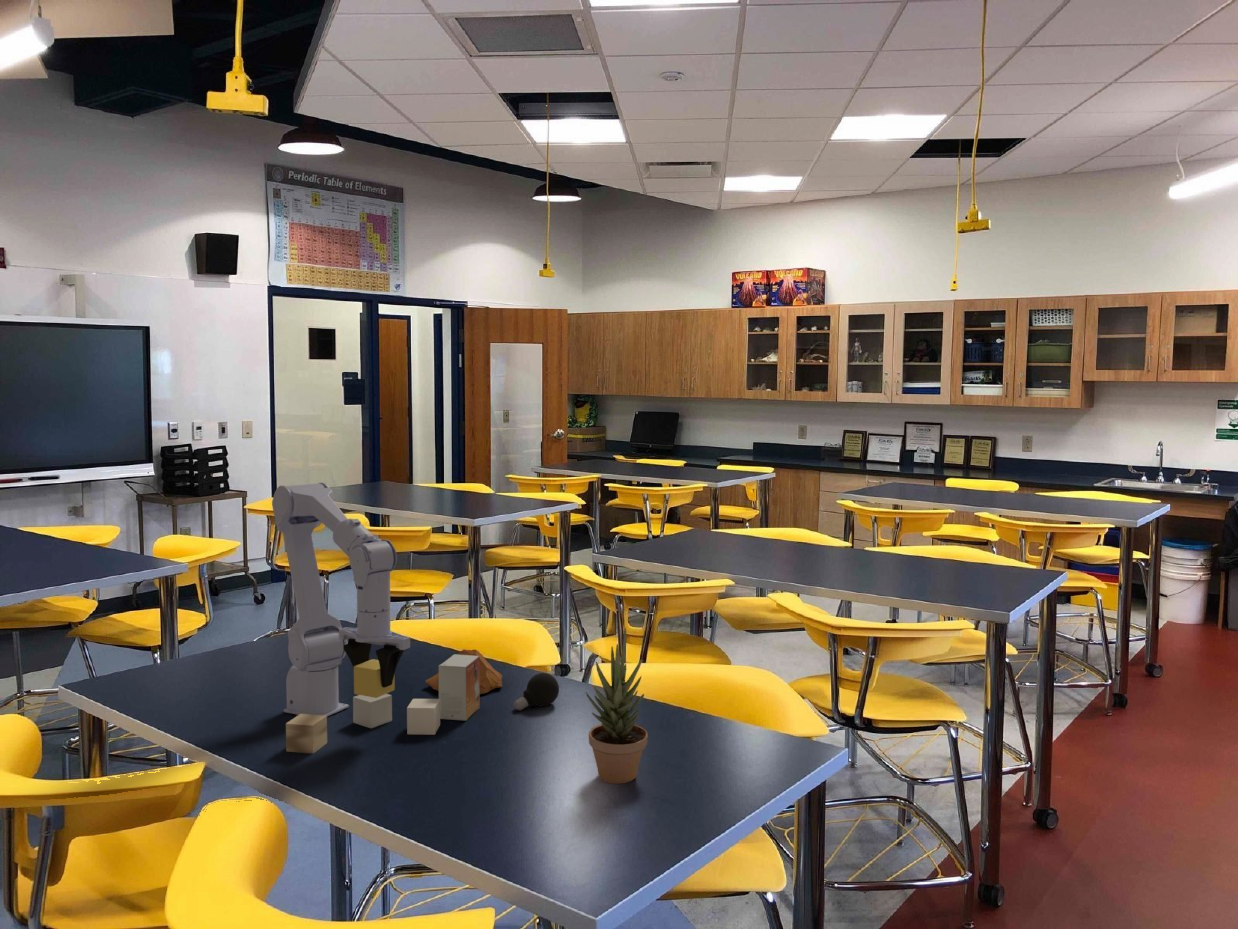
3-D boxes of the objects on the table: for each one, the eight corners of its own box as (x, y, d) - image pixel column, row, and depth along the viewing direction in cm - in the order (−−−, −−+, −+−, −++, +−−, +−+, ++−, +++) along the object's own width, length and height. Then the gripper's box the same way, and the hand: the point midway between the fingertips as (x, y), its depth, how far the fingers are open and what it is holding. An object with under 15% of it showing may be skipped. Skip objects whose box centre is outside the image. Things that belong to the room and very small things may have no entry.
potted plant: (627, 793, 148) (629, 638, 146) (577, 780, 153) (578, 629, 151) (659, 772, 157) (661, 624, 154) (610, 759, 162) (611, 616, 160)
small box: (466, 722, 179) (465, 667, 178) (438, 719, 180) (437, 665, 179) (480, 707, 187) (480, 655, 186) (453, 705, 188) (453, 653, 187)
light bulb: (502, 688, 186) (543, 662, 191) (509, 712, 189) (549, 686, 194) (521, 702, 181) (562, 675, 186) (527, 727, 184) (567, 700, 189)
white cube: (407, 734, 172) (406, 708, 172) (413, 724, 177) (413, 698, 177) (434, 735, 172) (434, 708, 172) (440, 725, 177) (439, 699, 177)
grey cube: (353, 723, 178) (352, 697, 178) (374, 715, 182) (373, 690, 182) (371, 728, 175) (370, 702, 175) (392, 721, 179) (391, 695, 179)
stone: (513, 692, 204) (520, 656, 199) (469, 728, 192) (475, 691, 188) (461, 659, 210) (466, 623, 205) (414, 692, 198) (419, 655, 194)
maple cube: (286, 751, 164) (285, 723, 164) (300, 741, 169) (300, 713, 168) (313, 754, 163) (312, 725, 163) (327, 743, 168) (326, 715, 168)
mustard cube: (354, 693, 169) (353, 666, 169) (372, 685, 174) (372, 659, 173) (376, 698, 167) (376, 670, 167) (394, 689, 172) (394, 662, 171)
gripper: (326, 609, 169) (327, 683, 170) (391, 618, 163) (392, 696, 164) (353, 601, 175) (354, 673, 176) (417, 609, 169) (418, 684, 170)
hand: (374, 683), depth 170 cm, fingers closed on mustard cube, 5 cm apart
